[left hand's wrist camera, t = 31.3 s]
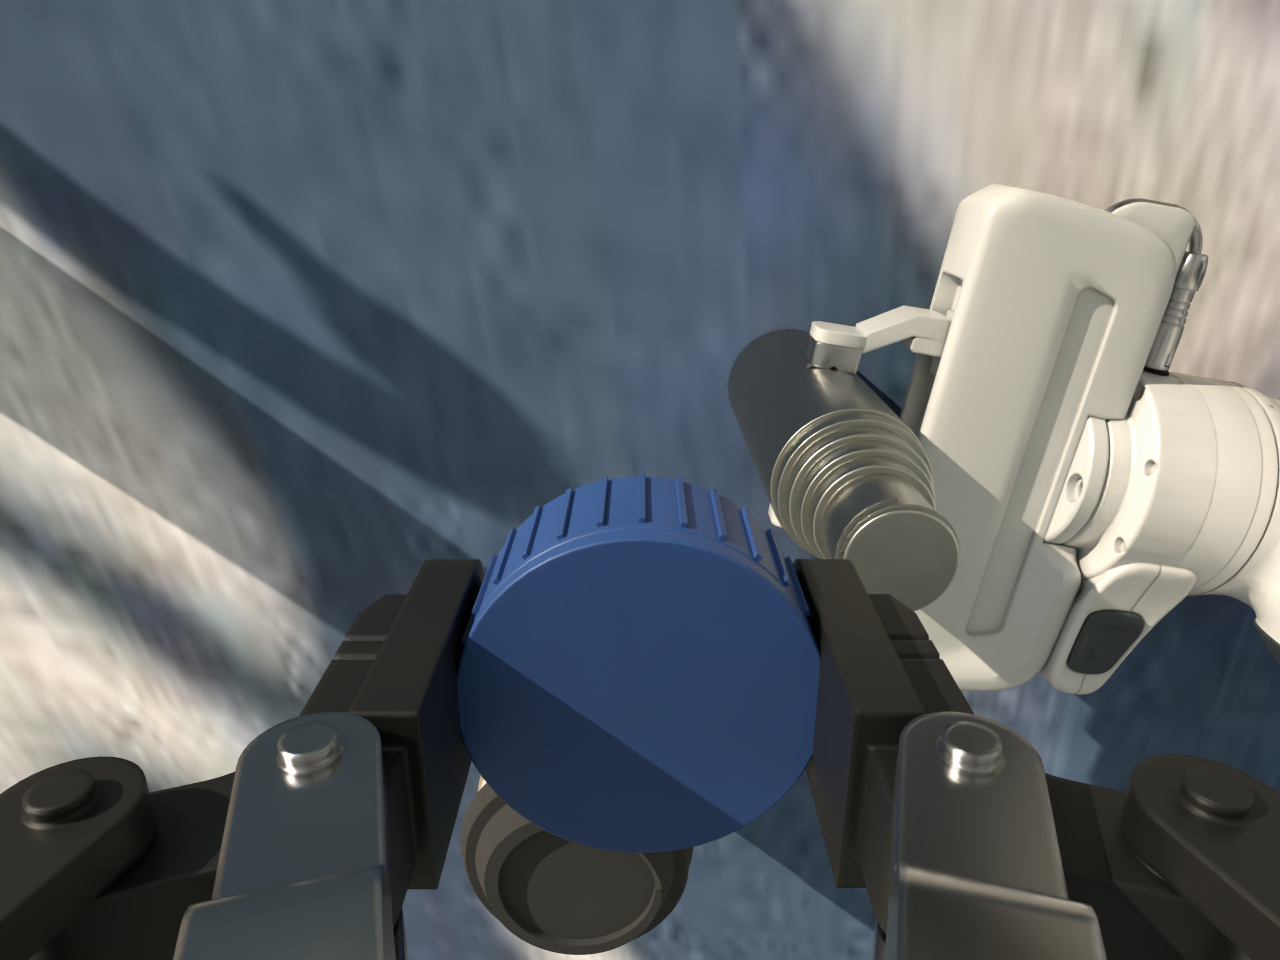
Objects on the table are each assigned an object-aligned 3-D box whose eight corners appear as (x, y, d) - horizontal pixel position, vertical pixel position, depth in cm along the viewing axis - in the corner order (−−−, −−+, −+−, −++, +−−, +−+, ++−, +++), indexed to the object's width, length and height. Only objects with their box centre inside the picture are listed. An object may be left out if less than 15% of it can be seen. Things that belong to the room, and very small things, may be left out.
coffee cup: (564, 763, 48) (535, 1018, 34) (471, 640, 46) (398, 862, 32) (709, 692, 47) (740, 930, 33) (622, 560, 44) (616, 757, 30)
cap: (716, 412, 11) (731, 465, 9) (854, 680, 13) (891, 774, 11) (416, 560, 12) (374, 637, 10) (578, 798, 13) (569, 904, 11)
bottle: (861, 351, 40) (1034, 508, 23) (815, 454, 42) (944, 669, 25) (754, 313, 40) (852, 446, 23) (711, 419, 41) (773, 618, 24)
